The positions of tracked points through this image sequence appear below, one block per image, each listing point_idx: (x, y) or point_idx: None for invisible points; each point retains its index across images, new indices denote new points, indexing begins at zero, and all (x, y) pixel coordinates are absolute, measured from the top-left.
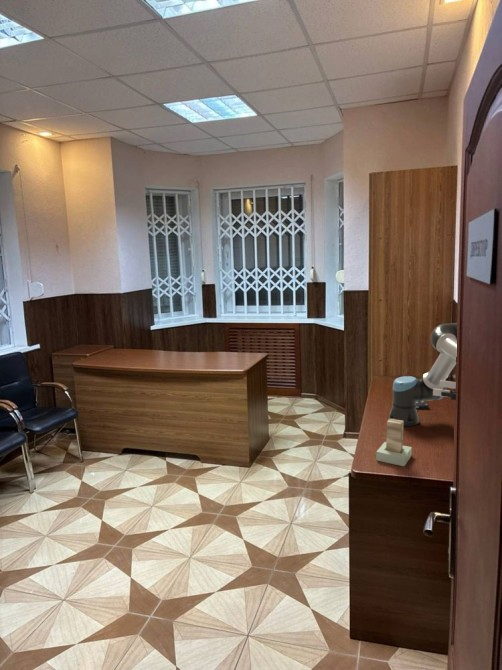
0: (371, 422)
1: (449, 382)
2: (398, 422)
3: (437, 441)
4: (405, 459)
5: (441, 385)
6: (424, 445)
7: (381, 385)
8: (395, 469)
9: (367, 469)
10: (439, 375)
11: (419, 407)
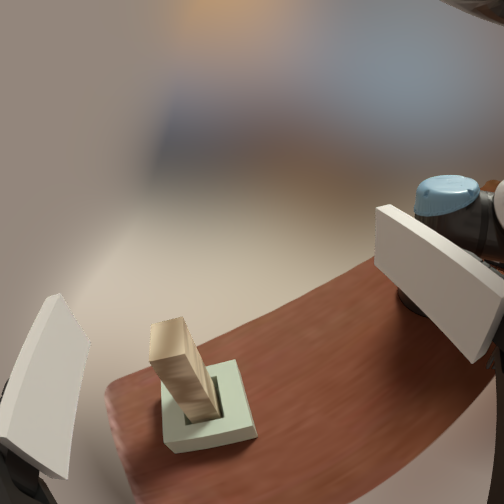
0: (360, 272)
1: (441, 259)
2: (158, 350)
3: (419, 415)
4: (179, 445)
5: (384, 260)
6: (360, 417)
7: None
8: (147, 443)
9: (118, 397)
10: None
11: (500, 263)
